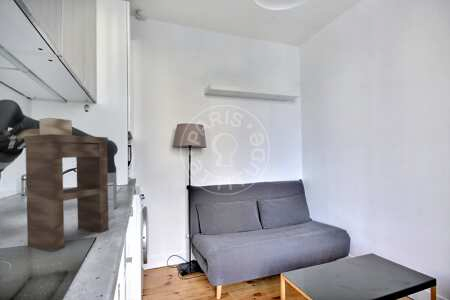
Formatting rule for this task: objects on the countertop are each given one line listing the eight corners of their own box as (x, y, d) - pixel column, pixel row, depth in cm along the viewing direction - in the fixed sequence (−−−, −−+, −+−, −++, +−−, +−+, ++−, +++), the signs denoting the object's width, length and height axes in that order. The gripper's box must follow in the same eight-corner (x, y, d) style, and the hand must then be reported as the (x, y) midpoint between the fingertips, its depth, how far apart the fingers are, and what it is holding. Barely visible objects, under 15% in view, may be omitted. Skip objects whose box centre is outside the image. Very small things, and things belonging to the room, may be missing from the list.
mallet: (31, 139, 76) (31, 124, 76) (71, 136, 69) (71, 120, 69) (9, 138, 71) (9, 122, 71) (51, 135, 64) (50, 117, 64)
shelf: (84, 226, 82) (83, 138, 82) (109, 229, 77) (107, 137, 77) (26, 246, 65) (24, 136, 65) (54, 252, 60) (51, 134, 61)
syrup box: (91, 220, 89) (90, 183, 89) (104, 216, 94) (103, 181, 94) (102, 221, 87) (101, 184, 87) (114, 217, 92) (113, 182, 92)
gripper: (30, 162, 83) (56, 137, 78) (-23, 164, 70) (4, 135, 65) (23, 145, 84) (49, 119, 79) (-30, 144, 71) (-3, 113, 66)
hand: (29, 126), depth 72 cm, fingers open, 3 cm apart
